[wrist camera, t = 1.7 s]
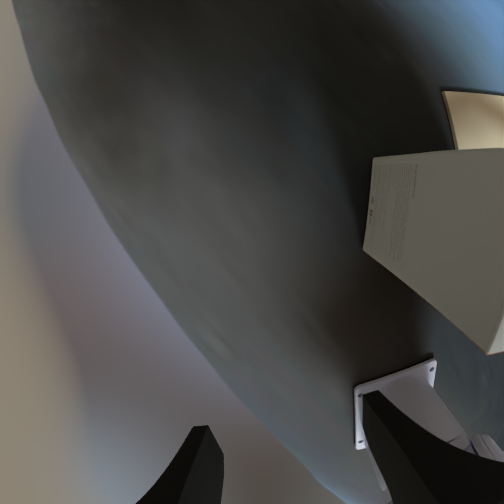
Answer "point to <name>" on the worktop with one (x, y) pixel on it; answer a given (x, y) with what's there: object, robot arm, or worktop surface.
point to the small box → (444, 234)
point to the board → (475, 119)
